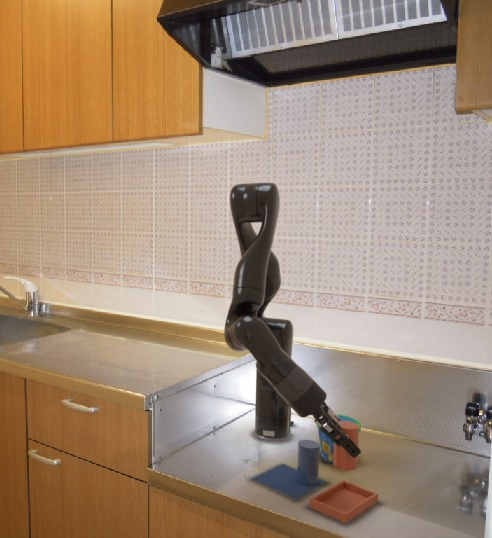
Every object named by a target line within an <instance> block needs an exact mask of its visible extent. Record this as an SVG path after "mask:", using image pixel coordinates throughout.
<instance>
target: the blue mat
mask: <svg viewBox="0 0 492 538" xmlns="http://www.w3.org/2000/svg"><path fill="white" fill-rule="evenodd" d="M252 480H253V481H255V482H258V483H260V484H262V485H264V486H266V487H269V488H271V489H274V490H275V491H278V492H279V493H282V494H284V495H286V496H288V497H291V498H293V499H295V500H297V499H299V498H300V497H302V496H304V495H306V494H307V493H310V492H311V491H313V490H315V489H316V488H318V487H320V486H322V485H324V484H325V483H327V482H326V481H325V480H323V479H320V478H318V484H317V485H315V486H306V485H302V484H300V483H299V482H298V481H297V468H296V469H295V468H294V467H291V466H289V465H287V464H283V463H282V464H280V465H278V466H276V467H274V468H271V469H270V470H269V469H268V471H265V472H264V473H261V474H259V475H257V476H254V477H253V478H252Z"/></svg>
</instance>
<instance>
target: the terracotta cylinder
mask: <svg viewBox="0 0 492 538" xmlns="http://www.w3.org/2000/svg"><path fill="white" fill-rule="evenodd" d="M338 422H339V423H340V424H341V425H342V430H343V431H344V432H345V433H346V434H347V435H348V436H349V438H350V439H351V440H352V441H353V442H354V443H355V444H356V445H357V446H358V447H359V441H360V440H359V437H360V432H359V425H358V424H356V423H354V422H350V421H338ZM336 427H337V425H336ZM336 437H337V438H338V439H339V438H340V437H342V436H341V435H338V436H336ZM358 459H359V455H358V456H356V457H355V458H353V457H352V456H351V455H350V454H349V453H348V452H347V451H346V450H345V449H344V448H343V447H342V446H340V447H339V446H337V445H336V443H334V456H333V464H332V465H333V466H334V467H335V468H337V469H338V470H342V471H355V470H357V469H358Z"/></svg>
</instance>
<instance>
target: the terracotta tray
mask: <svg viewBox="0 0 492 538" xmlns="http://www.w3.org/2000/svg"><path fill="white" fill-rule="evenodd" d="M309 500H310V501H309V502H310V503H309V506H310V508H311V509H313V510H315V511H317V512H320V513H321V514H324V515H326V516H328V517H331V518H333V519H335V520H337V521H340V522H342V523H344V524H347V523H349V522H350V521H351V520H353V519H355V518H357V517H358V516H359V515H361V514H362V513H364V512H365V511H367V510H368V509H369V508H371V507H372V506H374V505H376V504H377V503H378V501H379V493H377V492H375V491H372V490H370V489H367V488H365V487H362V486H360V485H357V484H355V483H352V482H349V481H347V480H345V479H343V480H340V481H339V482H337V483H336V484H334V485H332V486H330V487H329V488H327V489H325V490H323V491H322V492H320V493H318V494H316V495H315V496H313V497H311V498H310V499H309Z"/></svg>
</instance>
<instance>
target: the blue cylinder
mask: <svg viewBox="0 0 492 538" xmlns="http://www.w3.org/2000/svg"><path fill="white" fill-rule="evenodd" d="M320 454H321V451H320V442H318V441H315V440H311V439H301V440H299V441H298V442H297V459H296V460H297V462H296V470H297V481H298V482H299V483H300V484H302V485H306V486H315V485H317V484H318V479H320V477H319V475H320Z"/></svg>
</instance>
